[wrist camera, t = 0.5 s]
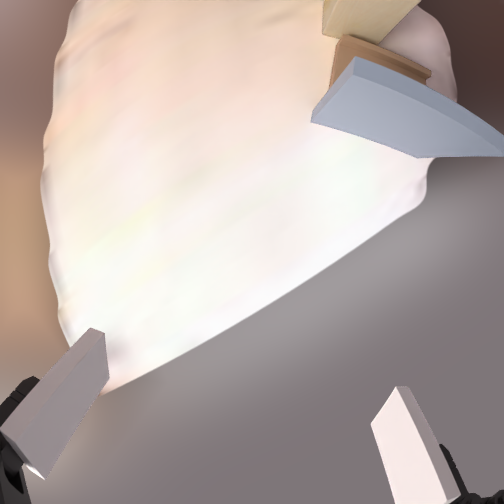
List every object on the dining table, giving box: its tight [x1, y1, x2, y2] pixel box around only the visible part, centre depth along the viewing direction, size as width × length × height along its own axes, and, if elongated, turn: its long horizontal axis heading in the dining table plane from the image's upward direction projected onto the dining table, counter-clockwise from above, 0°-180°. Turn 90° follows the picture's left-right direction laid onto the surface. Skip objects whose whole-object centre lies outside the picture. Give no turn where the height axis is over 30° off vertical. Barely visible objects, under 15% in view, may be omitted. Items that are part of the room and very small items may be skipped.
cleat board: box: [311, 34, 504, 158], centre depth 22 cm, size 13×16×18 cm
